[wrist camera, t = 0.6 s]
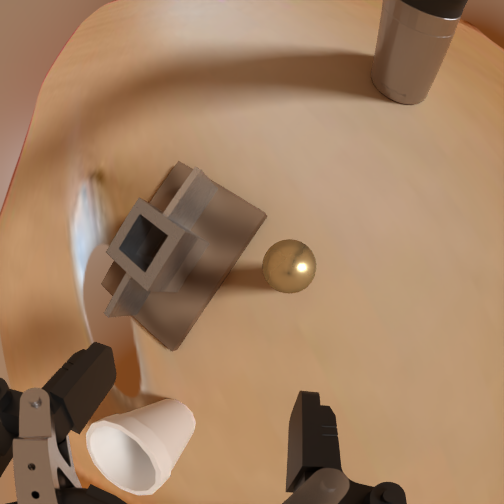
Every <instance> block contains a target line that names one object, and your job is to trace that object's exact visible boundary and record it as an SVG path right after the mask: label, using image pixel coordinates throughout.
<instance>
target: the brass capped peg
mask: <svg viewBox="0 0 504 504" xmlns="http://www.w3.org/2000/svg"><path fill="white" fill-rule="evenodd" d="M262 269H263V274H264V277H265V279H266V281H267V282H268V284H269V285H270V286H271V287H272V288H274V289H275V290H277V291H279V292H283V293H296V292H299V291H302V290H303V289H305V288H306V287H307V286H308V285H309V284H310V283H311V282H312V280H313V278H314V276H315V272H316V260H315V257H314V255H313V253H312V251H311V250H310V249H309V248H308V247H307V246H306V245H305V244H303V243H302V242H300V241H297V240H282V241H279V242H277V243H275V244H274V245H273V246H271V247H270V248H269V250H268V251H267V252H266V254H265V256H264V259H263V264H262Z"/></svg>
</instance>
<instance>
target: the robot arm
mask: <svg viewBox="0 0 504 504" xmlns="http://www.w3.org/2000/svg"><path fill="white" fill-rule="evenodd" d="M467 1H468V0H383V4H382V12H381V19H380V25H379V32H378V38H377V44H376V49H375V55H374V60H373V65H372V70H371V78H372V81H373V83H374V85H375V87H376V88H377V89H378V90H379V91H380V92H381V93H382V94H384V95H385V96H386V97H388V98H390V99H392V100H394V101H396V102H399V103H403V104H417V103H420V102H422V101H423V100H424V99H425V98H426V96H427V94H428V92H429V90H430V88H431V85H432V83H433V81H434V79H435V77H436V75H437V73H438V71H439V68H440V66H441V64H442V62H443V59H444V57H445V55H446V52H447V50H448V48H449V45H450V43H451V41H452V38H453V36H454V33H455V30H456V28H457V25H458V23H459V20H460V17H461V15H462V12H463V9H464V7H465V5H466V3H467ZM115 379H116V369H115V364H114V358H113V352H112V349H111V347H109V346H106V345H103V344H100V343H97V342H94V343H93V344H92V345H91V346H90V347H89V348H88V349H87V350H85V349H83V350H81V351H79V352H77V353H75V354H73V355H72V356H71V357H70V358H69V360H68V361H67V363H65V364H64V365H63V366H62V368H60V369H59V370H58V371H57V372H56V373H55V374H54V375H53V377H52V378H51V379H50V380H49V381H48V382H47V383H46V384H45V385H44V386H43V387H42V388H41V389H40V388H31V389H28V390H26V391H25V392H24V393H23V392H19V391H16V390H12V389H9V387H8V385H7V383H6V382H5V380H3V379H2V378H0V477H1V475H2V474H3V472H4V470H5V469H6V467H7V466H8V464H9V462H10V461H11V459H12V458H13V464H14V477H15V486H16V495H17V502H12V503H7V504H127V503H125V502H124V501H122V500H121V499H119V498H118V497H117V496H115V495H113V494H110V493H108V492H106V491H104V490H102V489H99V488H97V487H95V486H93V485H91V484H90V486H89V488H88V489H86V488H82V487H81V484H80V482H79V479H78V477H77V475H76V473H75V469H74V464H73V459H72V454H71V448H70V442H69V436H68V433H69V432H70V430H72V431H74V432H76V433H78V434H80V433H81V431H82V430H83V428H84V427H85V425H86V424H87V422H88V421H89V419H90V418H91V416H92V415H93V413H94V412H95V411H96V409H97V408H98V406H99V405H100V403H101V402H102V400H103V399H104V398H105V396H106V395H107V393H108V392H109V390H110V389H111V388H112V386H113V385H114V382H115ZM336 427H337V424H336V416H335V414H334V413H333V411H332V409H331V408H330V406H323V405H320V396H319V393H318V392H308V391H300V392H299V394H298V397H297V400H296V402H295V405H294V408H293V411H292V413H291V417H290V421H289V435H288V459H287V477H286V492H293V494H292V495H291V496H290V497H289V498H288V499H287V500H286V501H285V502H283V503H282V504H407V503H406V496H405V492H404V490H403V489H402V488H401V487H400V486H399V485H398V484H396V483H393V482H383V483H380V484H378V485H377V486H375V487H372V486H367V485H363V484H358V483H355V482H353V481H351V480H350V479H348V478H347V476H346V475H345V474H344V473H343V471H342V468H341V460H340V450H339V441H338V437H337V435H338V432H337V428H336Z"/></svg>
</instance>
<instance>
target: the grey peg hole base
mask: <svg viewBox="0 0 504 504" xmlns="http://www.w3.org/2000/svg"><path fill="white" fill-rule="evenodd" d="M192 171H193V169H192V168H190V167H188V166H186V165H185V164H183V163H181V162H180V161H178V163H177V164H176V165H175V167H174V168H173V169H172V171H171V172H170V174H169V175H168V176H167V178H166V179H165V181H164V182H163V184H162V185H161V187H160V188H159V189H158V191H157V192H156V194H155V195H154V197H153V198H152V200H151V201H150V204H151V205H153V206H155V207H157V208H158V209H160V210H162V211H165V210H166V208H167V207H168V205H169V204H170V202H171V201H172V199H173V198H174V196H175V195H176V193H177V192H178V190H179V189H180V188H181V186H182V185H183V183H184V182H185V180H186V179H187V178H188V176H189V175H190V173H191V172H192ZM211 181H212V180H211ZM212 182H213V184H214V185H215V186H216V187H217V188H218V190H217V192H216V193H215V195H214V196H213V198H212V199H211V200H210V202H209V203H208V205H207V206H206V208H205V209H204V211H203V212H202V213H201V215H200V216H199V218H198V219H197V221H196V222H195V224H194V225H193V227H192V228H191V231H193V232H194V233H195V234H197V235H198V236H200V237H201V238H202V239H204V240H205V241H207V242H208V243H209V245H208V247H207V248H206V250H205V251H204V253H203V254H202V256H201V257H200V259H199V260H198V262H197V263H196V265H195V266H194V268H193V269H192V271H191V273H190V274H189V276H188V277H187V279H186V280H185V282H184V283H183V285H182V286H181V288H180V289H179V291H178V292H154V291H151V292H150V294H149V296H148V297H147V299H146V301H145V302H144V304H143V306H142V307H141V309H140V311H139V312H138V314H137V315H133V317H134V318H135V319H136V320H138V321H139V322H140V323H141V324H142V325H143V326H144V327H145V328H146V329H147V330H148V331H149V332H150V333H152V334H153V335H154V336H155V337H156V338H157V339H158V340H159V341H161V342H162V343H163V344H164V345H165V346H166V347H167V348H169V349H170V350H171V351H175V350H177V349H178V348H179V346H180V345H181V343H182V342H183V340H184V339H185V337H186V336H187V334H188V333H189V331H190V330H191V328H192V327H193V325H194V324H195V322H196V321H197V319H198V318H199V316H200V315H201V313H202V312H203V310H204V309H205V307H206V306H207V304H208V303H209V301H210V300H211V298H212V297H213V296H214V294H215V293H216V291H217V290H218V288H219V287H220V285H221V284H222V282H223V281H224V279H225V278H226V276H227V275H228V273H229V272H230V270H231V269H232V267H233V266H234V264H235V263H236V262H237V260H238V259H239V257H240V256H241V254H242V253H243V251H244V250H245V248H246V247H247V245H248V244H249V242H250V241H251V239H252V238H253V237H254V235H255V234H256V232H257V231H258V229H259V228H260V226H261V225H262V223H263V222H264V220H265V219H266V217H267V215H266V213H265V212H263V211H261V210H260V209H258V208H257V207H255V206H253V205H252V204H250V203H248V202H247V201H245V200H244V199H242V198H240V197H239V196H237V195H235V194H234V193H232V192H230V191H229V190H227V189H225V188H224V187H222V186H220V185H219V184H217V183H215V182H214V181H212ZM167 237H168V235H167V234H165V236H164V237H163V239H162V240H161V242H160V244H159V245H158V247H157V248H156V250H155V251H154V253H153V255H152V256H151V257H152V258H153V259H154V258H155V256H156V254H157V253H158V251H159V250H160V248H161V246H162V245H163V243H164V242H165V240H166V239H167ZM125 274H126V271H125V270H124V269H123V268H122V267H121V266H120V265H118V264H117V263H116V262H115V261H114V262H113V263H112V265H111V267H110V269H109V271H108V272H107V274H106V276H105V278H104V280H103V282H102V285H103V287H104V288H105V289H106V290H107V291H108V292H109V293H110V294H111V295H112V296H113V295H114V293H115V292H116V290H117V288H118V286H119V284H120V283H121V281H122V279H123V277H124V276H125Z"/></svg>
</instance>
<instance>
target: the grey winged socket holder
mask: <svg viewBox="0 0 504 504" xmlns="http://www.w3.org/2000/svg"><path fill="white" fill-rule="evenodd" d="M217 190H218V188H217V187H216V186H215V185H214V184H213V182H212V181H211V180H210V179H209V178H208V177H207V176H206V175H205V174H204V172H203V171H202V170H201V169H199V168H197V167H195V168H194V169H193V171H192V172H191V173H190V175H189V176H188V178H187V179H186V180H185V182H184V183H183V185H182V186H181V188H180V189H179V190H178V192H177V193H176V195H175V196H174V198H173V199H172V201H171V202H170V204H169V205H168V207H167V208H166V210H165V211H162V210H160V209H158V208H157V207H155V206H153V205H151V204H150V203H148V202H146V201H144V200H143V199H141V198H138V200H137V202H136V203H135V205H134V206H133V208H132V209H131V211H130V213H129V214H128V216H127V217H126V219H125V221H124V222H123V224H122V226H121V227H120V229H119V230H118V232H117V234H116V236H115V237H114V239H113V241H112V242H111V244H110V246H109V248H108V249H107V251H106V253H107V254H108V255H109V256H110V257H111V258H112V259H114V261H115V262H116V263H117V264H118V265H120V266H121V267H122V268H123V269H124V270H125V271H126V274H125V276H124V277H123V279H122V281H121V283H120V284H119V286H118V288H117V290H116V292H115V293H114V295H113V297H112V299H111V301H110V303H109V305H108V306H107V308H106V310H105V312H104V313H105V314H106V316H107V317H121V316H133V315H137V314H138V312H139V311H140V309H141V307H142V306H143V304H144V302H145V301H146V299H147V297H148V296H149V294H150V292H151V291H154V292H178V291H179V289H180V288H181V286H182V285H183V283H184V282H185V280H186V279H187V277H188V276H189V274H190V273H191V271H192V269H193V268H194V266H195V265H196V263H197V262H198V260H199V259H200V257H201V256H202V254H203V253H204V251H205V250H206V248H207V247H208V245H209V243H208V242H207V241H205V240H204V239H202V238H201V237H200V236H198V235H197V234H195V233H194V232H193V231H191V228H192V227H193V225H194V224H195V222H196V221H197V219H198V218H199V216H200V215H201V213H202V212H203V211H204V209H205V208H206V206H207V205H208V203H209V202H210V200H211V199H212V198H213V196H214V195H215V193H216V192H217ZM165 234H167V235H168V237H167V239H166V240H165V242H164V243H163V245H162V246H161V248H160V250H159V251H158V253H157V254H156V256H155V258H154V259H153V258H152V257H151V256H152V255H153V253H154V251H155V250H156V248H157V247H158V245H159V244H160V242H161V240H162V239H163V237H164V236H165Z"/></svg>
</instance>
